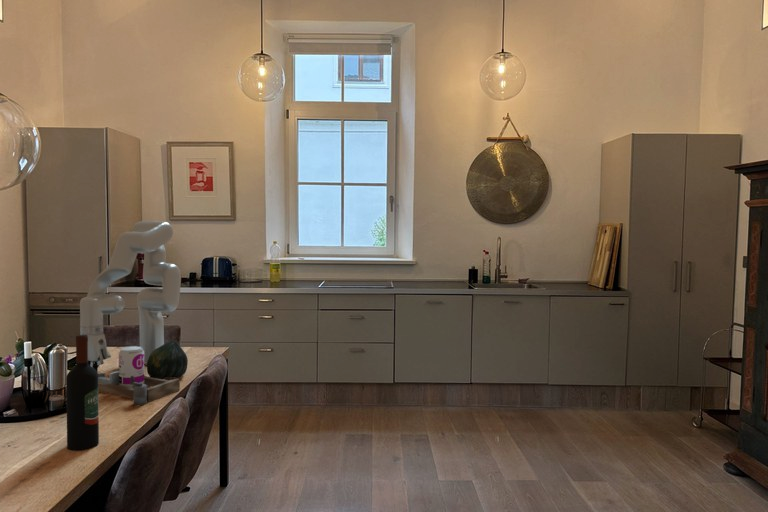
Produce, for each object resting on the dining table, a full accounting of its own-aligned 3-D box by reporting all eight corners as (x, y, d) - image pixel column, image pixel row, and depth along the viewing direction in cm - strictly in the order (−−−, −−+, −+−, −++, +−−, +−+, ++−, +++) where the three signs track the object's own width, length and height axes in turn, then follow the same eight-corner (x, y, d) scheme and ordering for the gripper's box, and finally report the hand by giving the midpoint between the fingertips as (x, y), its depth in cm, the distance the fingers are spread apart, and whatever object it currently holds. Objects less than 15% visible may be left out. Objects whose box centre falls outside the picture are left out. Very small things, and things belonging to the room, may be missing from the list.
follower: (107, 377, 209) (107, 362, 209) (135, 383, 203) (135, 367, 203) (83, 384, 200) (83, 368, 200) (112, 390, 194) (112, 373, 194)
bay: (127, 380, 208) (127, 357, 207) (182, 390, 197) (182, 366, 197) (82, 394, 190) (82, 369, 190) (139, 406, 180) (139, 379, 179)
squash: (133, 364, 210) (153, 338, 205) (164, 357, 224) (183, 332, 219) (152, 393, 206) (173, 367, 201) (183, 384, 219) (202, 359, 215)
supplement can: (149, 387, 199) (149, 347, 198) (131, 394, 192) (130, 351, 191) (132, 384, 202) (132, 344, 201) (113, 391, 195) (113, 349, 194)
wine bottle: (75, 439, 152) (73, 332, 150) (103, 439, 153) (102, 332, 151) (61, 451, 145) (59, 338, 143) (91, 450, 145) (90, 338, 143)
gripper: (114, 330, 204) (115, 378, 206) (87, 326, 211) (87, 373, 212) (96, 334, 198) (97, 384, 199) (68, 329, 204) (69, 378, 205)
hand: (92, 378), depth 205 cm, fingers closed
